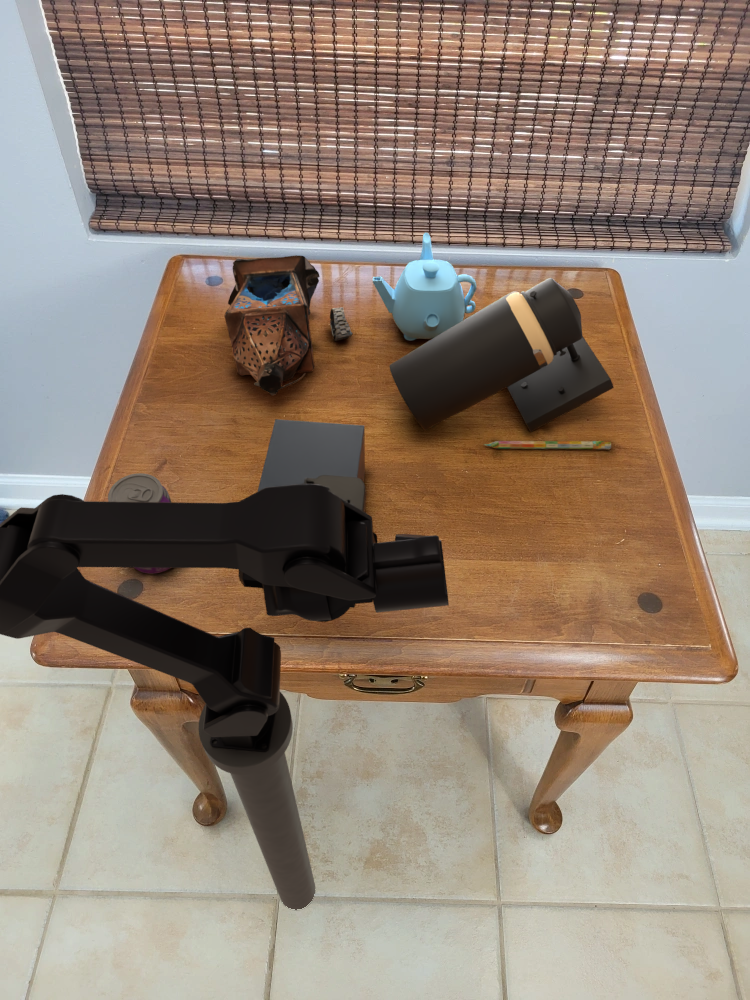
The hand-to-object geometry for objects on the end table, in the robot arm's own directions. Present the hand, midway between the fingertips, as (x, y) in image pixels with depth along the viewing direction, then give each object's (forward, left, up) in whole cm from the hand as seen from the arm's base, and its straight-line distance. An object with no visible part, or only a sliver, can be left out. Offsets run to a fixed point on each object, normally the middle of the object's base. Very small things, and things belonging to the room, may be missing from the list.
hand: (345, 547), depth 83 cm
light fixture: (+37, -17, -13) cm, 42 cm away
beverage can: (+6, +25, -13) cm, 29 cm away
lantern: (+44, +17, -13) cm, 48 cm away
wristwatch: (+51, +7, -13) cm, 53 cm away
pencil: (+29, -25, -13) cm, 40 cm away
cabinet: (+15, +6, -13) cm, 20 cm away
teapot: (+55, -6, -13) cm, 56 cm away
